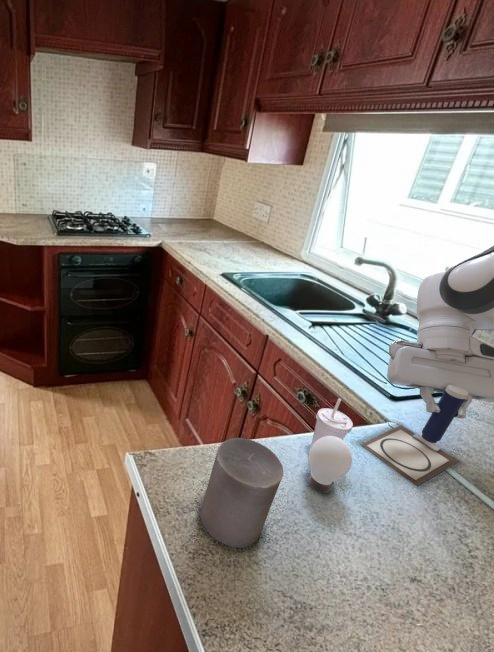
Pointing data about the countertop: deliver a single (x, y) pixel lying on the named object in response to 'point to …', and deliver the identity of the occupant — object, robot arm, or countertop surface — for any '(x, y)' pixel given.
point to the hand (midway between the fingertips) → (446, 415)
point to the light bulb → (328, 462)
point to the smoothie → (331, 423)
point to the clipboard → (409, 454)
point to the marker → (444, 413)
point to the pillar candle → (240, 492)
